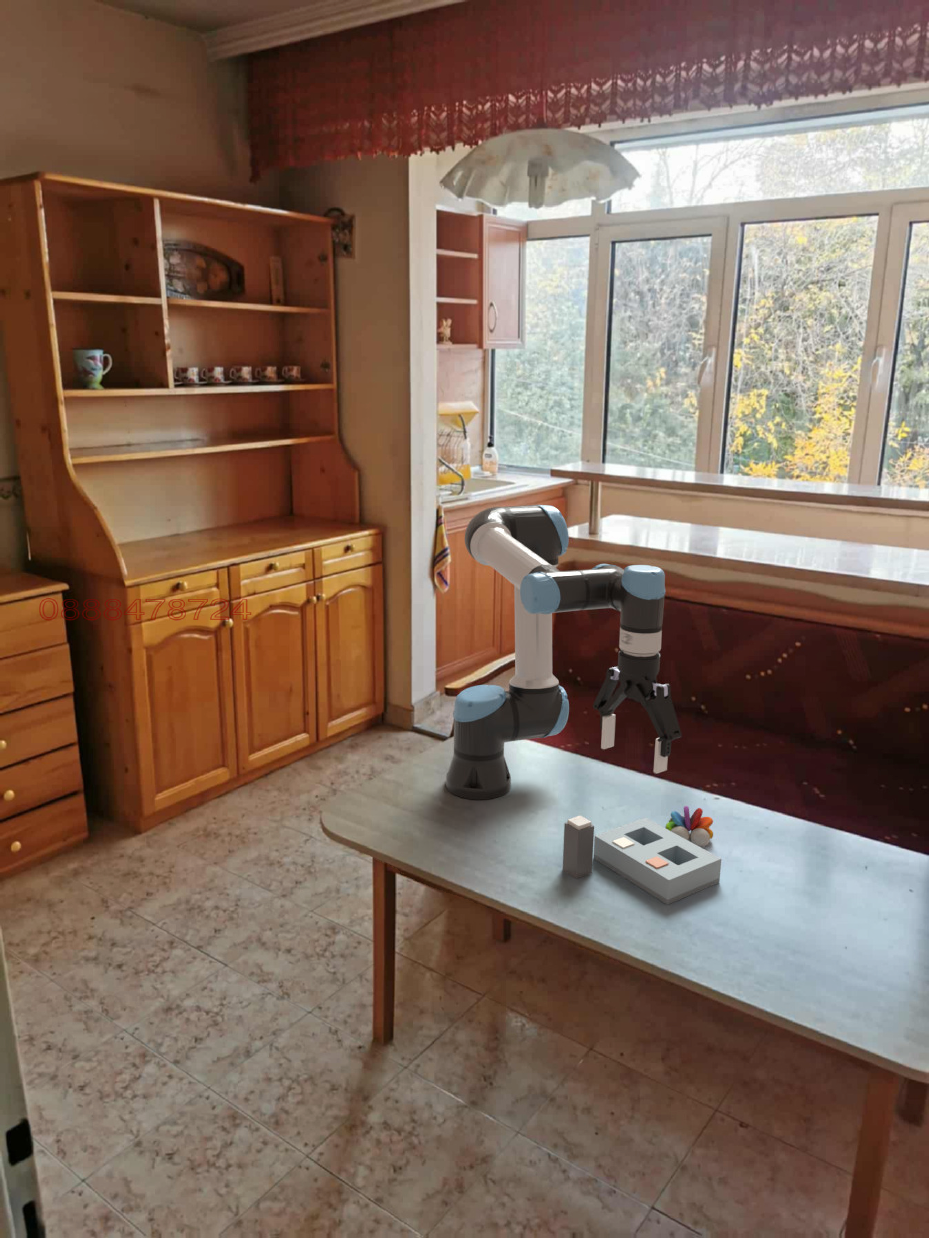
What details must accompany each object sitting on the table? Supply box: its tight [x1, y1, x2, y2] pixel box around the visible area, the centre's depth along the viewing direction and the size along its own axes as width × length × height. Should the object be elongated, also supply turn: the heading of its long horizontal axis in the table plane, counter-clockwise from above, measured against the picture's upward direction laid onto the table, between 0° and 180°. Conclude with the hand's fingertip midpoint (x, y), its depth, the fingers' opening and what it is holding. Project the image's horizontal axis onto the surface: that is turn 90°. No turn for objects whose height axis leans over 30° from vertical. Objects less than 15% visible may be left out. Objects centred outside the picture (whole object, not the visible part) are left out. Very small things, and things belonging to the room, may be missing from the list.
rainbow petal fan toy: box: [664, 805, 714, 848], centre depth 193 cm, size 8×10×7 cm
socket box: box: [593, 817, 722, 905], centre depth 181 cm, size 20×14×5 cm
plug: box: [562, 815, 595, 879], centre depth 180 cm, size 4×4×11 cm
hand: (633, 759), depth 175 cm, fingers open, 13 cm apart
